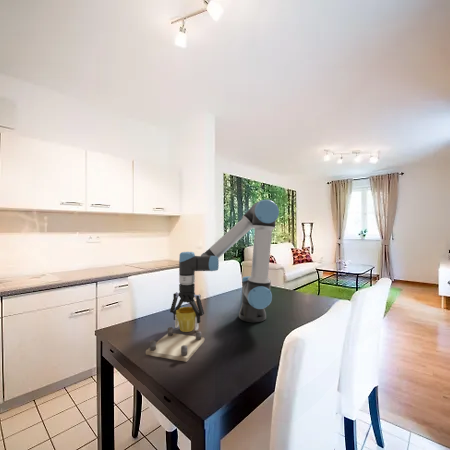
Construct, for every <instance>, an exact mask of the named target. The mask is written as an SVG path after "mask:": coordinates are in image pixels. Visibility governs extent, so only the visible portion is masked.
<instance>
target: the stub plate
mask: <svg viewBox="0 0 450 450" xmlns="http://www.w3.org/2000/svg"><path fill="white" fill-rule="evenodd" d="M204 343H205V337H202V331H200V330H197V331H195V336H194V335H188V334H183V333H174V328H173V327H172V326H171V327H167V333H166V334H165V335H164V336H162V337H161V338H160V339H158V341H156V340H150V341H149V347H148V349H147V348H146V350H145V355H146V356H152V357H156V358H162V359H167V360H168V359H169V360H172V361H181V362H188V361H189V360H190V359H191V357H192V356H193V355H194V354H195V352H197V350H198V349H199V348H200V347H201V346H202V345H203V344H204Z"/></svg>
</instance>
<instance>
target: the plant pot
mask: <svg viewBox="0 0 450 450" xmlns="http://www.w3.org/2000/svg"><path fill="white" fill-rule="evenodd" d="M195 317H196V314H195V312H194V310H193V308H192V306H183V307H180V309H178V310H176V318H177V319H178V322H179V326H178V328H179V330H180V331H181V332H183V333H189V332H190V333H191V332H192V331H194V330H195Z"/></svg>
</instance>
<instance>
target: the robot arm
mask: <svg viewBox="0 0 450 450" xmlns="http://www.w3.org/2000/svg"><path fill="white" fill-rule="evenodd" d="M279 215H280V211H279V206H278V205H277V204H276V203H275V202H274V201H272V200H271V199H261V200H259V201H257V202H255V203H254V204H253V205H252V206H251V207H250V208H249V209H248V210H247V211H246V212H245V213H244V214H242V217H241V219H240V220H239V221H238V222H237V223H236V224H235V225H234V226H233V227H232V228H230V229H229V230H228V231H227V232H226V233H224V235H223V236H221V237H220V238H219V239H218V240H217V241H216V242H214V243H213V244H212V245H211V246H210V247H209V248H208V249H207V250H205V251H204V252H203V253H202V254H201V255H196V253H195V252H193V251H182V252H180V253H179V260H178V265H179V266H178V269H179V271H178V272H179V274H178V276H179V278H178V281H179V284H178V286H179V288H178V291H179V292H175V293H173V298H172V303H171V307H170V310H169V313H172V314H173V320H174V328H176V329H177V328H179V322H178V319H177V318H176V310H178V309H180V308H182V307H181V306H182V305H183V303H187V304H189V305H190V307H192V308H193V310H194V312H195V314H196V317H195V324H194V330H195V332H197V331H199V328H200V326H199V324H200V323H201V317H203V315H204V314H205V311H204V308H203V304H202V300H201V298H202V297H201V294H200V293H199V294H196V293H195V281H196V280H195V272H216V271H218V270H219V268H220V267H219V261H220V260H219V259H220V258H221V256H223V255H224V254H225V253H226V252H227V251H229V250H230V249H231V248H232V247H233V246H234V245H235V244H236V243H237V242H238V241H239V240H240V239H242V238H243V237H244V236H245V235H247V234H248V233H249V232H250V230H254V235H253V246H252V247H253V249H252V260H251V272H250V273H251V274H250V275H249V276H248V275H247V276H243V277H242V279H241V290H242V292H241V294H242V295H241V298H242V299H241V300H242V301H241V306H240V309H239V313H238V318H239V319H240V320H241V321H243V322H247V323H261V322H264V321H265V320H267V312H266V308H267V307H269V306H270V304H271V303H272V300H273V294H272V291H271V280H270V278H269V268H270V256H271V246H272V245H271V243H272V234H273V233H272V232H273V230H274V229H275V228H276V223H277V222H276V221H277V219H278V218H279ZM178 299H179V301H178ZM195 300H196V302H195ZM177 302H178V304H177Z"/></svg>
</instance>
